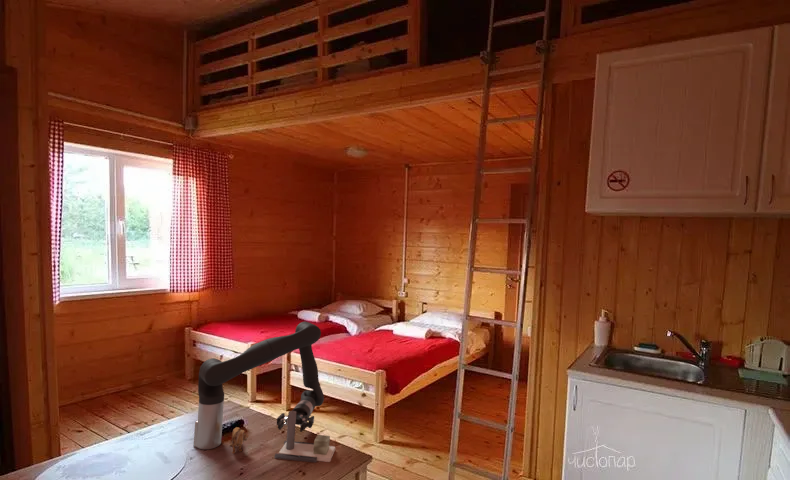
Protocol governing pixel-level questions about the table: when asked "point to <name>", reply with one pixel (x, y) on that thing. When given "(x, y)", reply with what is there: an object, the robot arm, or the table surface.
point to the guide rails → (296, 457)
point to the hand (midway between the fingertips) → (290, 428)
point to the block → (321, 444)
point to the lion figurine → (238, 438)
